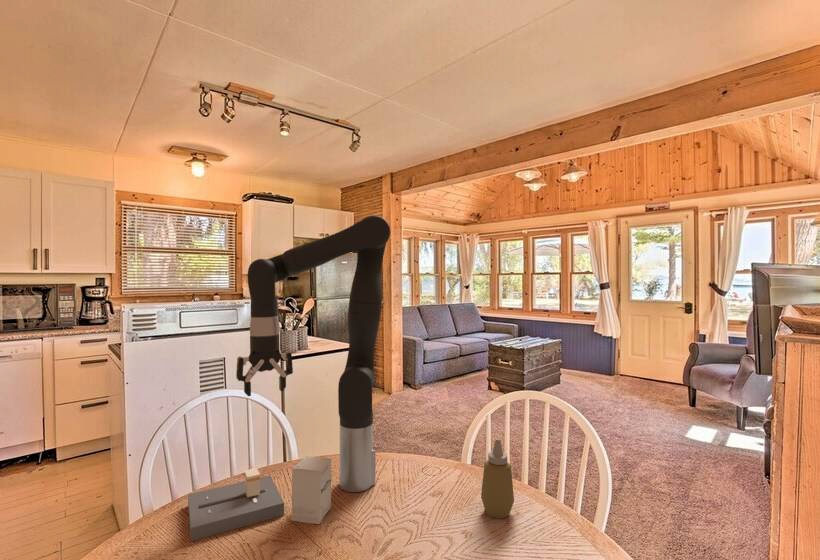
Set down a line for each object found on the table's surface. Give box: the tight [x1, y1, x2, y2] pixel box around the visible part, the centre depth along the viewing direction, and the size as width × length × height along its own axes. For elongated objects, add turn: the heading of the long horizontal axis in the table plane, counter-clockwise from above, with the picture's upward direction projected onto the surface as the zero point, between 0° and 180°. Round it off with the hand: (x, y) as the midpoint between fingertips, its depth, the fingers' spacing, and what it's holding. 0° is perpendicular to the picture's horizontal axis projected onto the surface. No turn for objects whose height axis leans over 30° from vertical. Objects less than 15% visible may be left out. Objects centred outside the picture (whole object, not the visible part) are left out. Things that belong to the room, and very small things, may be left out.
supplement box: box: [291, 455, 332, 525], centre depth 99 cm, size 7×7×13 cm
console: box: [187, 475, 285, 542], centre depth 101 cm, size 20×16×3 cm
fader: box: [243, 467, 261, 497], centre depth 103 cm, size 3×4×5 cm
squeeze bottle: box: [480, 438, 515, 519], centre depth 101 cm, size 8×8×18 cm
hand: (265, 393), depth 110 cm, fingers open, 8 cm apart
